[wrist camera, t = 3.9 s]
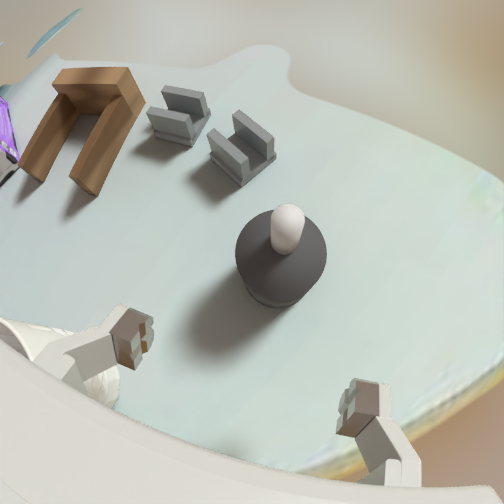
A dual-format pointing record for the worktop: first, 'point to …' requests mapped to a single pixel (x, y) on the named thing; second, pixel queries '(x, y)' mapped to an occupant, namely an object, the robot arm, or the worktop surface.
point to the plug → (280, 256)
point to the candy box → (7, 144)
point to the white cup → (38, 336)
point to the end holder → (104, 132)
